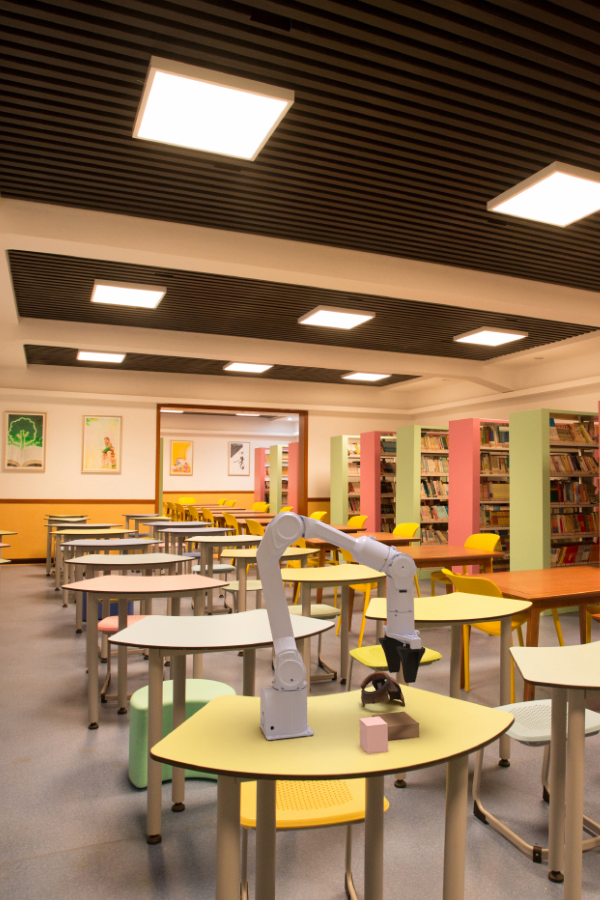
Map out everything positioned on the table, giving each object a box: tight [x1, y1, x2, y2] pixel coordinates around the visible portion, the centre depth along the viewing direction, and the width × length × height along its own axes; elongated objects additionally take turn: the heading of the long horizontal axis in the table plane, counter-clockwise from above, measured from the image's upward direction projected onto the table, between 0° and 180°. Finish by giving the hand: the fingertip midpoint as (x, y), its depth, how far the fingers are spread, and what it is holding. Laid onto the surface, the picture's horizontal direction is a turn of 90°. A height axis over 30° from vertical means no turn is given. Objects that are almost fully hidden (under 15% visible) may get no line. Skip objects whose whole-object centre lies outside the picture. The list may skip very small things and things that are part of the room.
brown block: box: [372, 711, 420, 742], centre depth 118 cm, size 7×7×3 cm
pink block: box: [358, 716, 389, 755], centre depth 110 cm, size 4×4×5 cm
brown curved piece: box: [359, 671, 406, 707], centre depth 135 cm, size 12×9×8 cm
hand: (401, 677), depth 122 cm, fingers open, 7 cm apart
